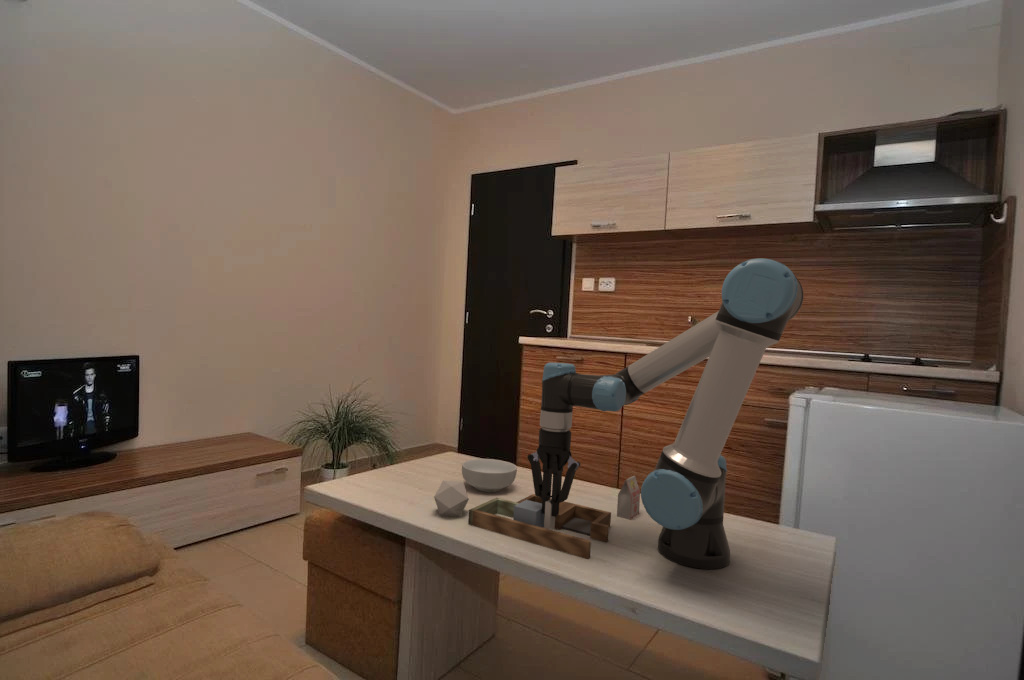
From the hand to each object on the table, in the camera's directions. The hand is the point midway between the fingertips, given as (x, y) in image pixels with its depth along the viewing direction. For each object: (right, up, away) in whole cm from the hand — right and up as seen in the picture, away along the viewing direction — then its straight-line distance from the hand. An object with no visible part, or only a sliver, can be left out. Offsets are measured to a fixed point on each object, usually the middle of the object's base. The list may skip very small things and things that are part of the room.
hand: (549, 528), depth 119 cm
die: (-24, -1, +11) cm, 27 cm away
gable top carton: (+23, -3, +18) cm, 29 cm away
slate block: (-4, -1, +3) cm, 5 cm away
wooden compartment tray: (-1, -2, +6) cm, 6 cm away
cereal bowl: (-16, -1, +35) cm, 39 cm away
